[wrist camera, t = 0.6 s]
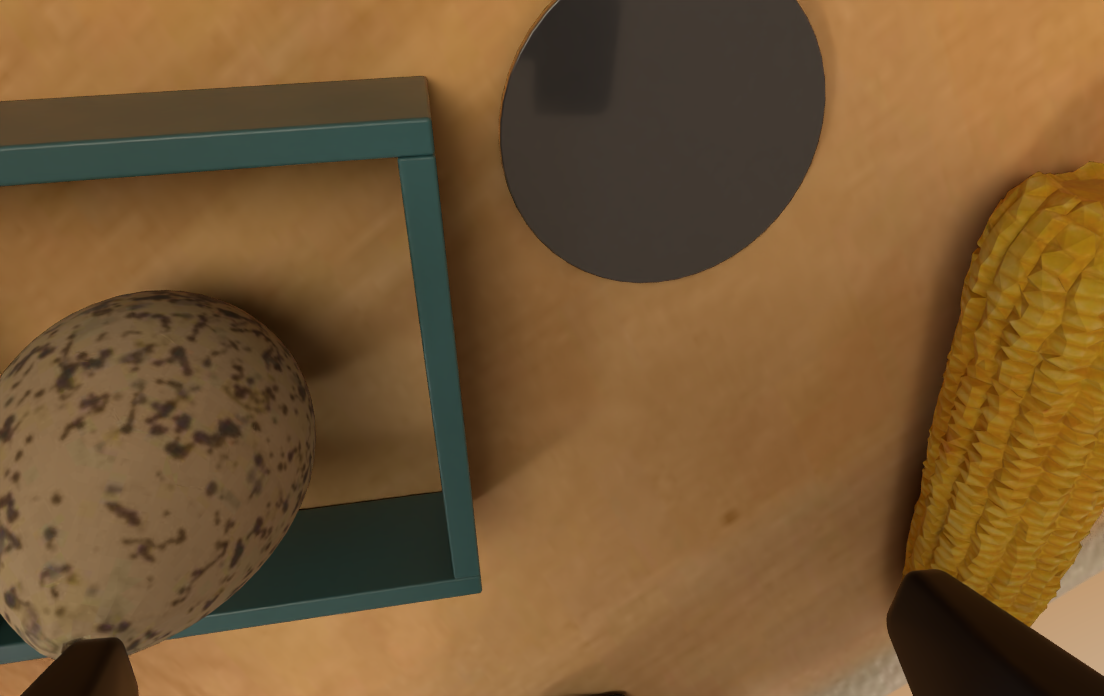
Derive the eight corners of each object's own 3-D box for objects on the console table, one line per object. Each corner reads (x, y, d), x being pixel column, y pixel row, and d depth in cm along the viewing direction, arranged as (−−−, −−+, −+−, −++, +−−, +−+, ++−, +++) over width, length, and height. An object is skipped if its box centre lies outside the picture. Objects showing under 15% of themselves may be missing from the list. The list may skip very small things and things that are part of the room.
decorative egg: (307, 463, 24) (257, 767, 16) (59, 429, 22) (-148, 759, 14) (349, 270, 21) (313, 526, 13) (62, 209, 19) (-204, 468, 11)
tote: (472, 503, 27) (482, 593, 23) (29, 563, 25) (-30, 670, 21) (426, 75, 19) (431, 117, 15) (-227, 114, 17) (-383, 172, 14)
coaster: (793, 263, 24) (798, 268, 23) (507, 291, 22) (509, 297, 22) (846, -64, 19) (854, -63, 18) (486, -50, 18) (488, -49, 17)
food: (943, 162, 23) (1097, 243, 18) (1116, 133, 23) (1313, 203, 18) (862, 613, 34) (941, 739, 29) (978, 587, 34) (1076, 707, 29)
